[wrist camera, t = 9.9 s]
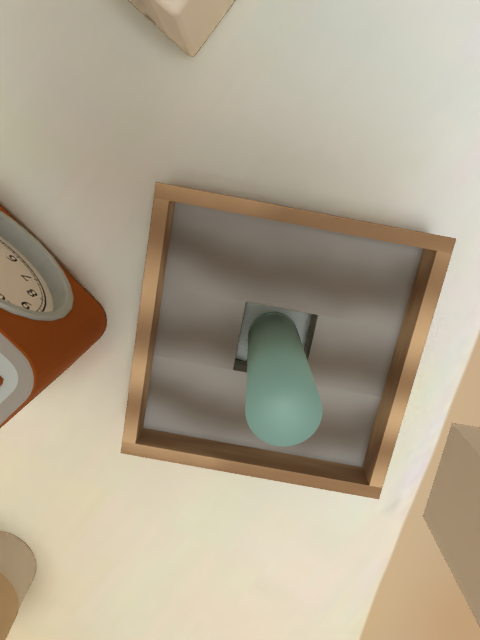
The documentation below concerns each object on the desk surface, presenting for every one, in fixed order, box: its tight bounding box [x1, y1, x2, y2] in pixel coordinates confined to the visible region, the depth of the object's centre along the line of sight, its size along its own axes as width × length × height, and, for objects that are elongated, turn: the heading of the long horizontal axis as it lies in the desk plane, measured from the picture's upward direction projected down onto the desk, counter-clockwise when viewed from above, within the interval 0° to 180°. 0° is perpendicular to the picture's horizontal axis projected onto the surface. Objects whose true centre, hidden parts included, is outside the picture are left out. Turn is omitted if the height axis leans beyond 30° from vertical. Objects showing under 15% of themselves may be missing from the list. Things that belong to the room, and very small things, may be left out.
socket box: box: [121, 182, 456, 499], centre depth 35 cm, size 20×20×5 cm
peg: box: [245, 312, 323, 446], centre depth 31 cm, size 4×4×14 cm
